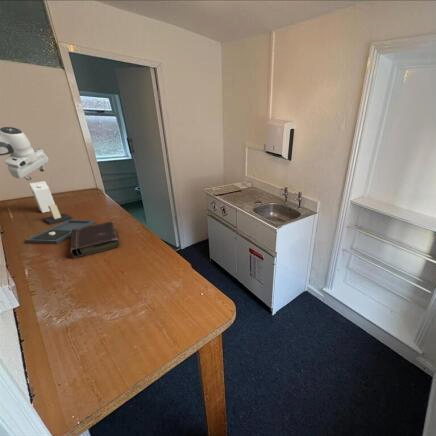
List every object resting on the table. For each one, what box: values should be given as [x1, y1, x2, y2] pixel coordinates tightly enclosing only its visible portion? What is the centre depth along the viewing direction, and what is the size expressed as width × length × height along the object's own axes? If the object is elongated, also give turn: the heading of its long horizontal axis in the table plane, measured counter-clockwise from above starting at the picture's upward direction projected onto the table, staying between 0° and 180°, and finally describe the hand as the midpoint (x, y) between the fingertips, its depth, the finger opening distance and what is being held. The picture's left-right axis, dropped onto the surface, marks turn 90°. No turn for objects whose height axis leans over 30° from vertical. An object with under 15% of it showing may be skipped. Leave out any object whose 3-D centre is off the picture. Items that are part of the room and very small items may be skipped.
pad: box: [34, 230, 71, 240], centre depth 121 cm, size 10×10×2 cm
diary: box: [69, 221, 120, 259], centre depth 118 cm, size 19×25×5 cm
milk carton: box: [29, 180, 56, 214], centre depth 149 cm, size 7×7×19 cm
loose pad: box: [42, 203, 72, 225], centre depth 139 cm, size 10×10×9 cm
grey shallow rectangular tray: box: [24, 219, 96, 245], centre depth 127 cm, size 15×25×2 cm, turn 1°
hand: (36, 175), depth 140 cm, fingers open, 8 cm apart
